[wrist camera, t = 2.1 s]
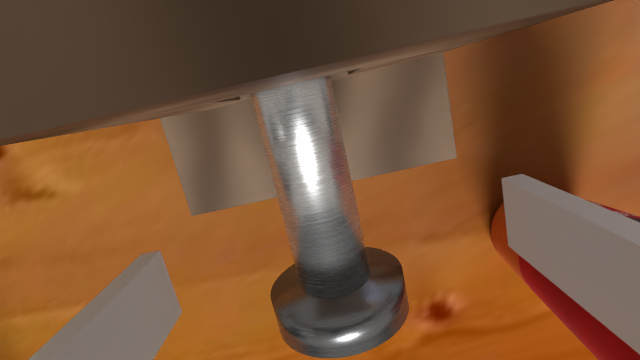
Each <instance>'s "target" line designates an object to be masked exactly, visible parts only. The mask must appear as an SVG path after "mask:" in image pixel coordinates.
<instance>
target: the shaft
mask: <svg viewBox="0 0 640 360" xmlns="http://www.w3.org/2000/svg"><path fill="white" fill-rule="evenodd" d="M251 98H252V102H253V106H254V110H255V113H256V117H257V121H258V125H259V129H260V132H261V136H262V140H263V144H264V148H265V152H266V155H267V159H268V163H269V167H270V171H271V174H272V178H273V182H274V186H275V190H276V194H277V197H278V201H279V205H280V209H281V213H282V217H283V220H284V224H285V228H286V232H287V236H288V239H289V243H290V247H291V251H292V255H293V259H294V262H295V264H294V265H292V266H291V267H289V268H288V269H287V270H285V271H284V272H283V273H282V274H281V275H280V276H279V277H278V278H277V280H276V281H275V283H274V285H273V286H272V290H271V301H272V304H273V308H274V311H275V315H276V318H277V322H278V325H279V329H280V332H281V335H282V337H283V339H284V341H285V342H286V343H287V344H288V345H289V346H290V347H291V348H292V349H294V350H296V351H297V352H300V353H302V354H305V355H308V356H312V357H318V358H340V357H347V356H352V355H356V354H360V353H362V352H365V351H368V350H370V349H372V348H375V347H377V346H379V345H380V344H382V343H384V342H385V341H387V340H388V339H389V338H391V337H392V336H393V335H394V334H395V333H396V332H397V331H398V330H399V329H400V328H401V326H402V325H403V324H404V322H405V320H406V318H407V315H408V310H409V304H408V297H407V292H406V286H405V281H404V276H403V270H402V266H401V264H400V262H399V261H398V259H397V258H396V257H395V256H393V255H392V254H390V253H388V252H386V251H383V250H380V249H376V248H371V247H365V243H364V238H363V233H362V228H361V223H360V218H359V214H358V209H357V204H356V199H355V194H354V189H353V185H352V180H351V175H350V170H349V165H348V161H347V156H346V151H345V146H344V141H343V136H342V132H341V127H340V122H339V117H338V112H337V108H336V103H335V98H334V93H333V88H332V83H331V79H330V76H325V77H321V78H317V79H312V80H308V81H304V82H299V83H295V84H291V85H286V86H282V87H278V88H273V89H269V90H265V91H260V92H256V93H251Z"/></svg>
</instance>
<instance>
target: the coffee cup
mask: <svg viewBox="0 0 640 360" xmlns="http://www.w3.org/2000/svg"><path fill="white" fill-rule="evenodd" d="M584 200H585V199H584ZM587 201H588V200H587ZM589 202H591V201H589ZM592 203H594V202H592ZM594 204H596V205H599V206H601V207H604V208H606V209H608V210H611V211H613V212H616V213H618V214H621V215H623V216H625V217H632V218H636V219H640V217H639V216H636V215H633V214H629V213H626V212H623V211H620V210H617V209H614V208H610V207H607V206H604V205H601V204H598V203H594ZM491 239H492V242H493V245H494V247H495V249H496V250H497V252H498V253H499V254H500V255H501V257H502V258H503V259H504V260H505V261H506V262H507V263H508V265H509V266H510V267H511V268H512V269H513V270H514V271H515V272H516V273H517V274H518V275H519V277H520V278H521V279H522V280H523V281H524V282H525V283H526V284H527V285H528V286H529V287H530V288H531V289H532V290H533V291H534V292H535V294H536V295H537V296H538V297H539V298H540V299H541V300H542V301H543V302H544V303H545V304H546V305H547V306H548V307H549V308H550V309H551V310H552V311H553V313H554V314H555V315H556V316H557V317H558V318H559V319H560V320H561V321H562V322H563V323H564V324H565V325H566V326H567V327H568V328H569V329H570V330H571V331H572V332H573V334H574V335H575V336H576V337H577V338H578V339H579V340H580V341H581V342H582V343H583V344H584V345H585V346H586V347H587V348H588V349H589V350H590V351H591V352H592V353H593V354H594V356H595V357H596V358H597V359H598V360H640V354H639V353H637V352H636V351H635V350H634V349H632V348H631V347H630V346H629V345H628V344H626V343H625V342H624V341H623V340H622V339H620V338H619V337H618V336H617V335H615V334H614V333H613V332H612V331H611V330H609V329H608V328H607V327H606V326H605V325H603V324H602V323H601V322H600V321H599V320H597V319H596V318H595V317H594V316H592V315H591V314H590V313H589V312H588V311H586V310H585V309H584V308H583V307H582V306H580V305H579V304H578V303H577V302H576V301H574V300H573V299H572V298H571V297H569V296H568V295H567V294H566V293H565V292H563V291H562V290H561V289H560V288H559V287H557V286H556V285H555V284H554V283H553V282H551V281H550V280H549V279H548V278H546V277H545V276H544V275H543V274H542V273H540V272H539V271H538V270H537V269H536V268H534V267H533V266H532V265H531V264H530V263H528V262H527V261H526V260H525V259H523V258H522V257H521V256H520V255H519V254H517V253H516V252H515V251H514V250H513V249H511V248H510V247H509V246H508V238H507V228H506V218H505V209H504V202H503V203H502V204H501V205H500V207H499V208H498V209H497V211H496V213H495V215H494V217H493V220H492V223H491Z"/></svg>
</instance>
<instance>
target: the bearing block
mask: <svg viewBox="0 0 640 360" xmlns="http://www.w3.org/2000/svg"><path fill="white" fill-rule="evenodd" d="M609 1H613V0H0V146H2V145H8V144H13V143H19V142H25V141H31V140H36V139H42V138H48V137H54V136H60V135H65V134H71V133H77V132H83V131H88V130H94V129H100V128H106V127H112V126H117V125H123V124H129V123H135V122H140V121H146V120H152V119H158V118H160V120H161V123H162V126H163V129H164V132H165V135H166V138H167V141H168V144H169V147H170V150H171V153H172V156H173V160H174V163H175V166H176V169H177V172H178V175H179V178H180V181H181V184H182V187H183V190H184V193H185V196H186V199H187V202H188V206H189V209H190V212H191V215H192V216H194V215H198V214H203V213H208V212H212V211H217V210H221V209H226V208H230V207H235V206H239V205H244V204H249V203H253V202H258V201H262V200H267V199H271V198H276V197H277V194H276V190H275V186H274V182H273V178H272V174H271V171H270V167H269V163H268V159H267V155H266V152H265V148H264V144H263V140H262V136H261V132H260V129H259V125H258V121H257V117H256V113H255V110H254V106H253V102H252V98H251V93H256V92H260V91H265V90H269V89H273V88H278V87H282V86H286V85H291V84H295V83H299V82H304V81H308V80H312V79H317V78H321V77H325V76H330V79H331V83H332V88H333V93H334V98H335V103H336V108H337V112H338V117H339V122H340V127H341V132H342V136H343V141H344V146H345V151H346V156H347V161H348V165H349V170H350V175H351V180H352V181H354V180H358V179H363V178H367V177H372V176H376V175H381V174H385V173H390V172H395V171H399V170H404V169H408V168H413V167H417V166H422V165H427V164H431V163H436V162H440V161H445V160H449V159H454V158H457V155H456V147H455V139H454V132H453V124H452V117H451V109H450V102H449V94H448V87H447V79H446V72H445V64H444V56H443V52H445V51H448V50H452V49H455V48H458V47H462V46H465V45H468V44H471V43H475V42H478V41H481V40H484V39H488V38H491V37H494V36H498V35H501V34H504V33H507V32H511V31H514V30H517V29H521V28H524V27H527V26H530V25H534V24H537V23H540V22H544V21H547V20H550V19H553V18H557V17H560V16H563V15H567V14H570V13H573V12H576V11H580V10H583V9H586V8H590V7H593V6H596V5H599V4H603V3H606V2H609Z"/></svg>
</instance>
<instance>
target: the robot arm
mask: <svg viewBox="0 0 640 360" xmlns="http://www.w3.org/2000/svg"><path fill="white" fill-rule="evenodd" d="M501 179H502V189H503V199H504V209H505V218H506V228H507V238H508V246H509V247H510V248H511V249H513V250H514V251H515V252H516V253H517V254H519V255H520V256H521V257H522V258H523V259H525V260H526V261H527V262H528V263H530V264H531V265H532V266H533V267H534V268H536V269H537V270H538V271H539V272H540V273H542V274H543V275H544V276H545V277H546V278H548V279H549V280H550V281H551V282H553V283H554V284H555V285H556V286H557V287H559V288H560V289H561V290H562V291H563V292H565V293H566V294H567V295H568V296H569V297H571V298H572V299H573V300H574V301H576V302H577V303H578V304H579V305H580V306H582V307H583V308H584V309H585V310H586V311H588V312H589V313H590V314H591V315H592V316H594V317H595V318H596V319H597V320H599V321H600V322H601V323H602V324H603V325H605V326H606V327H607V328H608V329H609V330H611V331H612V332H613V333H614V334H615V335H617V336H618V337H619V338H620V339H622V340H623V341H624V342H625V343H626V344H628V345H629V346H630V347H631V348H632V349H634V350H635V351H636V352H637V353H639V354H640V219H636V218H632V217H625V216H623V215H621V214H618V213H616V212H613V211H611V210H608V209H606V208H604V207H601V206H599V205H596V204H594V203H592V202H589V201H587V200H584V199H582V198H580V197H577V196H575V195H572V194H570V193H568V192H565V191H563V190H560V189H558V188H555V187H553V186H551V185H548V184H546V183H543V182H541V181H539V180H536V179H534V178H531V177H529V176H527V175H524V174H519V175H514V176H509V177H505V178H501ZM181 313H182V310H181V307H180V305H179V302H178V299H177V296H176V294H175V291H174V288H173V285H172V282H171V280H170V277H169V274H168V271H167V269H166V266H165V263H164V260H163V257H162V255H161V252H160V251H155V252H150V253H146V254H141V255H140V256H139V257H138V258H137V259H136V260H135V261H134V262H132V263H131V264H130V265H129V266H128V267H127V268H126V269H125V270H124V271H123V272H122V273H121V274H120V275H119V276H117V277H116V278H115V279H114V280H113V281H112V282H111V283H110V284H109V285H108V286H107V287H106V288H105V289H104V290H102V291H101V292H100V293H99V294H98V295H97V296H96V297H95V298H94V299H93V300H92V301H91V302H90V303H89V304H87V305H86V306H85V307H84V308H83V309H82V310H81V311H80V312H79V313H78V314H77V315H76V316H75V317H74V318H72V319H71V320H70V321H69V322H68V323H67V324H66V325H65V326H64V327H63V328H62V329H61V330H60V331H59V332H57V333H56V334H55V335H54V336H53V337H52V338H51V339H50V340H49V341H48V342H47V343H46V344H45V345H44V346H42V347H41V348H40V349H39V350H38V351H37V352H36V353H35V354H34V355H33V356H32V357H31V358H30V359H29V360H153V359H154V357H155V356H156V354H157V352H158V351H159V349H160V347H161V346H162V344H163V343H164V341H165V339H166V338H167V336H168V334H169V333H170V331H171V329H172V328H173V326H174V324H175V323H176V321H177V320H178V318H179V316H180V315H181Z"/></svg>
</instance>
